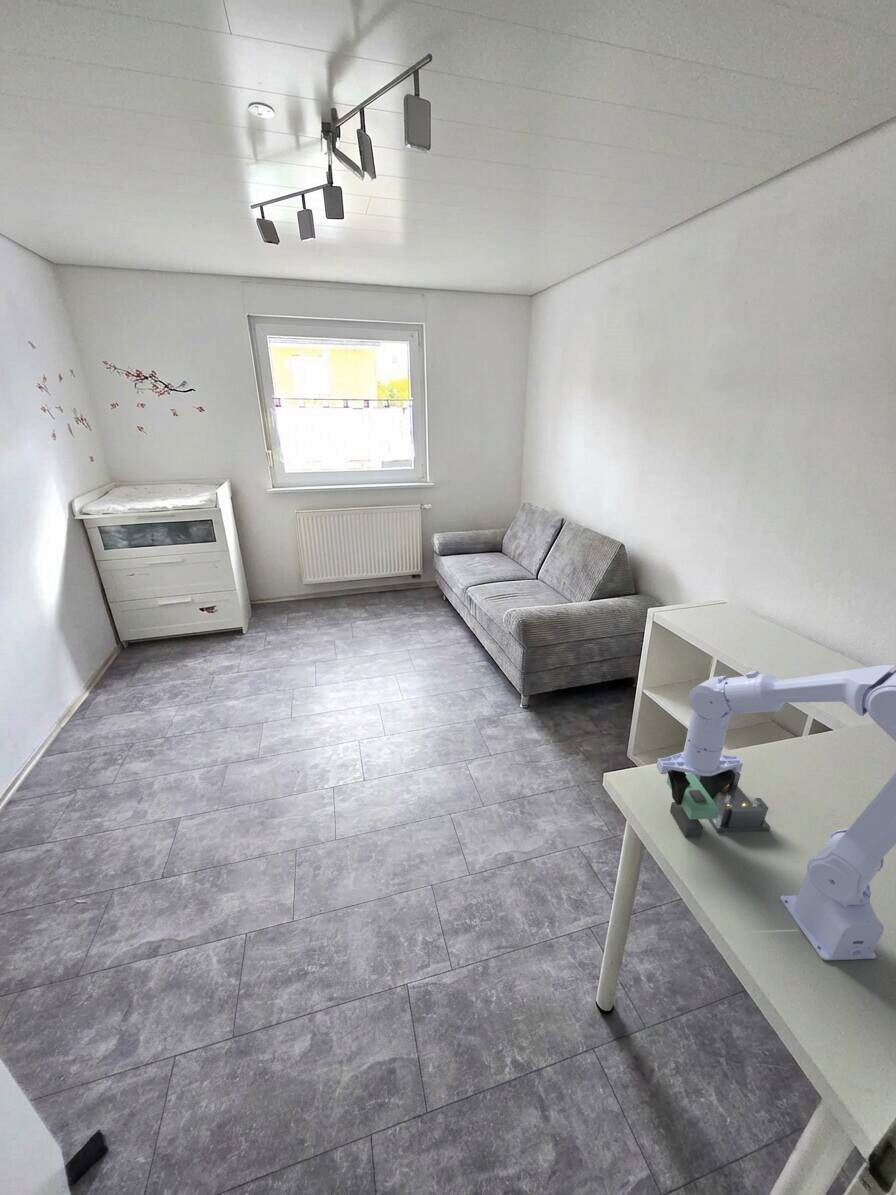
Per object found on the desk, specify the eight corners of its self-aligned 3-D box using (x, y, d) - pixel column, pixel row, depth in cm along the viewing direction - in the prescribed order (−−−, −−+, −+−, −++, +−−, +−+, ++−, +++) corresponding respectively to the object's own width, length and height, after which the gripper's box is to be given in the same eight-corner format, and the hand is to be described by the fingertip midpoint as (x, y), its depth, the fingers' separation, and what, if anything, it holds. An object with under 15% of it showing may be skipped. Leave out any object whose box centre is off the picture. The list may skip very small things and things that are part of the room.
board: (691, 781, 93) (694, 771, 92) (717, 818, 85) (720, 807, 84) (666, 782, 93) (668, 771, 92) (689, 819, 84) (692, 808, 83)
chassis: (730, 782, 101) (735, 763, 99) (769, 830, 89) (775, 810, 87) (684, 783, 100) (688, 764, 99) (716, 832, 89) (722, 812, 87)
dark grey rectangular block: (700, 836, 88) (703, 827, 87) (684, 837, 88) (687, 827, 87) (684, 811, 94) (687, 801, 93) (669, 811, 94) (671, 802, 93)
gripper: (731, 725, 87) (717, 783, 92) (654, 727, 87) (643, 785, 92) (756, 751, 81) (739, 811, 86) (672, 753, 81) (660, 814, 86)
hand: (691, 800), depth 89 cm, fingers closed on board, 5 cm apart
